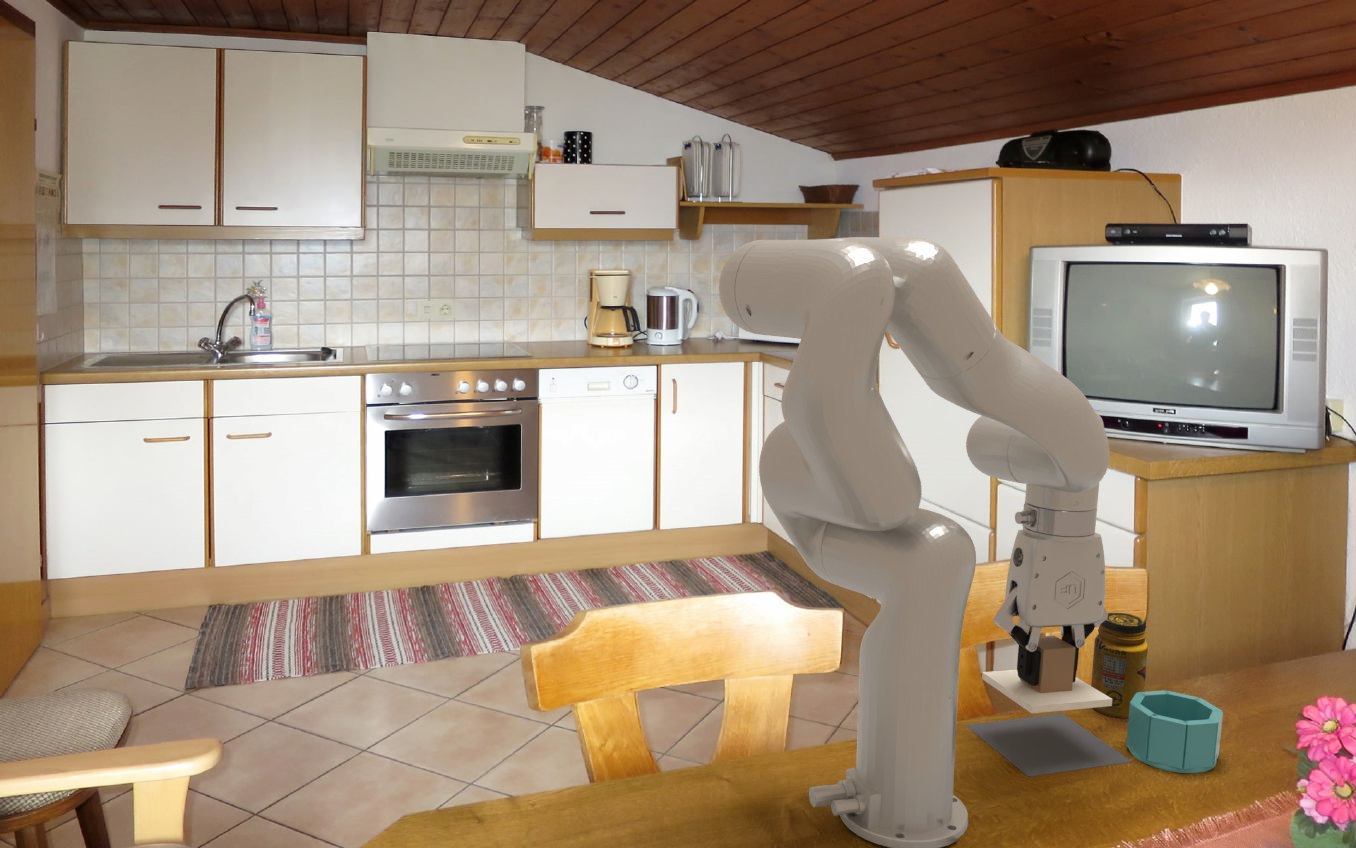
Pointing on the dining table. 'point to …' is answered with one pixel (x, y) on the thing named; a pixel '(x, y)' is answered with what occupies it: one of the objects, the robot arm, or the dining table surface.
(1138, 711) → the bowl
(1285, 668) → the dining table surface
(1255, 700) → the dining table surface
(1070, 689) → the lid
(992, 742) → the mat
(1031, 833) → the dining table surface
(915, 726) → the robot arm
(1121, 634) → the condiment
